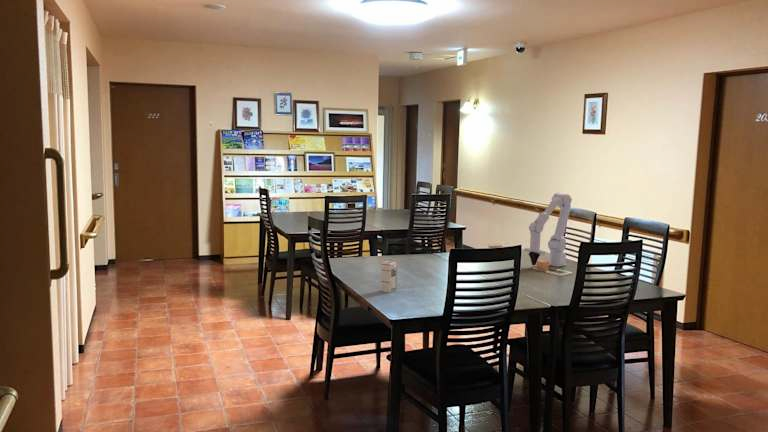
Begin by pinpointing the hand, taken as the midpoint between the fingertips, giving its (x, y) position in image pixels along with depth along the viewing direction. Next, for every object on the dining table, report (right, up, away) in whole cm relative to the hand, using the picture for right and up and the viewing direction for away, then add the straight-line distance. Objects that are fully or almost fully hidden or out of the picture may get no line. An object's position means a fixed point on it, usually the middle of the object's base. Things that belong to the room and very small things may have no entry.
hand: (533, 264), depth 377 cm
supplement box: (-23, -1, 0) cm, 24 cm away
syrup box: (-88, -8, -68) cm, 111 cm away
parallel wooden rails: (+5, -3, -7) cm, 9 cm away
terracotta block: (+4, -2, -5) cm, 7 cm away
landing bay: (+11, -4, -15) cm, 19 cm away
